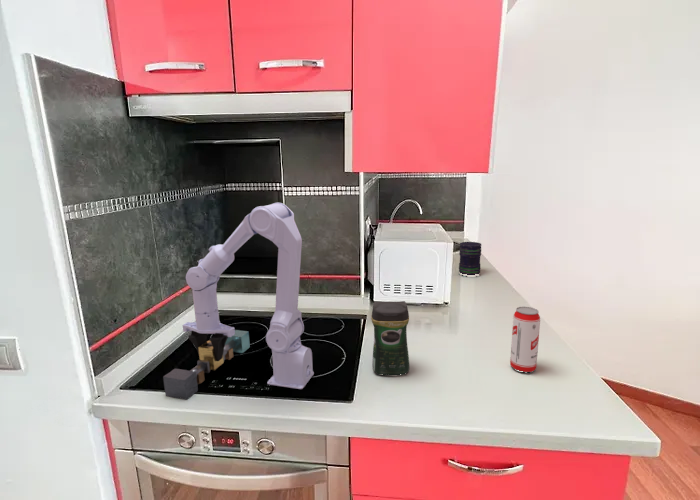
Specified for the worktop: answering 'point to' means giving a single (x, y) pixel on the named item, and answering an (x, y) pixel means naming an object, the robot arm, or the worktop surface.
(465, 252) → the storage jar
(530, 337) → the beer can
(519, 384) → the worktop surface
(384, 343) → the coffee jar
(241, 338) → the shaft bench
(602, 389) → the worktop surface
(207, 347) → the block
